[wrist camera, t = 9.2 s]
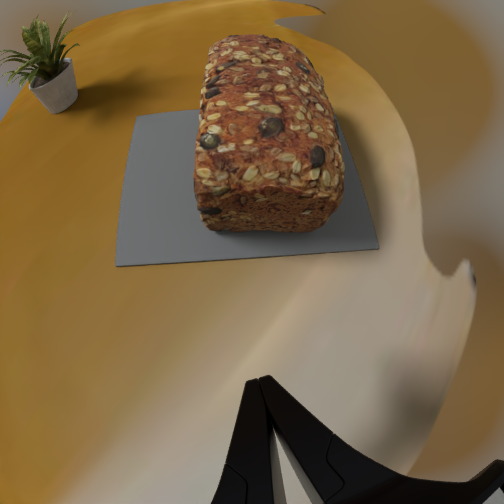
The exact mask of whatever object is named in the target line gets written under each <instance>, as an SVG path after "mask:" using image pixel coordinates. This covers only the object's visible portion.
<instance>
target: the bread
mask: <svg viewBox="0 0 504 504" xmlns="http://www.w3.org/2000/svg"><path fill="white" fill-rule="evenodd" d="M205 70H206V71H205V72H204V79H203V87H202V90H201V101H200V113H199V128H198V133H197V137H196V146H195V170H194V173H193V179H194V193H195V198H196V200H197V210H199V211H200V219H201V222H204V226H205V227H206V228H208V229H209V230H210V231H223V230H229V231H232V232H247V231H251V230H257V231H264V230H273V231H276V232H280V233H282V232H300V233H304V232H311V231H314V230H316V229H317V228H320V227H322V226H323V225H324V224H325V223H326V222H328V220H329V217H330V215H331V214H332V213H334V212H336V210H337V208H338V207H339V206H340V204H341V202H342V198H343V192H344V184H343V183H344V172H345V164H344V162H343V161H342V155H343V149H342V144H341V143H340V141H339V134H338V133H339V130H338V124H337V120H336V119H334V112H333V108H332V106H331V103H330V102H329V100H328V97H327V95H326V94H325V91H324V85H323V84H324V81H323V78H322V76H320V75H319V74H317V72H316V71H315V70H314V67H313V65H312V63H311V62H310V60H309V59H308V58H307V56H306V55H304V53H303V52H302V51H301V50H299V49H298V48H296V46H294V45H292V44H289V43H286V42H284V41H280V40H279V39H278V38H268V37H267V36H264V35H231V36H228V37H226V38H225V39H223V40H220V41H218V42H216V43H215V44H213V45H212V46H211V47H210V49H209V54H208V62H207V64H206V69H205Z"/></svg>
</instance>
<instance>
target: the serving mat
mask: <svg viewBox="0 0 504 504" xmlns="http://www.w3.org/2000/svg"><path fill="white" fill-rule="evenodd" d="M199 113H200V109H198V110H185V111H174V112H165V113H157V114H149V115H142V116H137V118H136V122H135V126H134V130H133V134H132V139H131V144H130V149H129V154H128V159H127V164H126V170H125V176H124V182H123V189H122V196H121V203H120V212H119V221H118V231H117V243H116V259H115V266H116V267H121V266H138V265H154V264H170V263H186V262H202V261H217V260H232V259H247V258H262V257H277V256H291V255H305V254H319V253H333V252H347V251H360V250H373V249H379V246H378V241H377V237H376V233H375V230H374V226H373V222H372V218H371V215H370V211H369V208H368V204H367V201H366V198H365V194H364V191H363V188H362V185H361V182H360V179H359V176H358V173H357V170H356V167H355V164H354V161H353V158H352V156H351V153H350V150H349V148H348V145H347V142H346V140H345V137H344V135H343V132H342V130H341V127H340V125H339V122H338V120H337V117H336V115H335V113H334V119H336V120H337V124H338V130H339V133H338V134H339V141H340V143H341V144H342V149H343V155H342V161H343V162H344V164H345V172H344V183H343V184H344V192H343V198H342V202H341V204H340V206H339V207H338V208H337V210H336V212H334V213H332V214H331V215H330V217H329V220H328V222H326V223H325V224H324V225H323V226H322V227H320V228H317V229H316V230H314V231H311V232H304V233H300V232H282V233H280V232H276V231H273V230H264V231H257V230H251V231H247V232H232V231H229V230H223V231H210V230H209V229H208V228H206V227H205V226H204V222H201V219H200V211H199V210H197V200H196V198H195V193H194V179H193V173H194V170H195V146H196V137H197V133H198V128H199Z"/></svg>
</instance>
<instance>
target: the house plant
mask: <svg viewBox="0 0 504 504" xmlns="http://www.w3.org/2000/svg"><path fill="white" fill-rule="evenodd" d="M37 18H38V16H37ZM37 18H36V22H35V26H34V21H35V20H34V21H33V22H32V23H31V28H30V29H29V28H27V27H22V30H23V32H22V37H23V41H24V43H25V44H26V45H27V47H28V49H27V50H28V51H30V52H31V53H32V54H30V55H29V56H27V55H24V54H22V53H19V52H16V51H12V50H3V51H7V52H13V53H16V54H19V55H12V56H9V57H21V58H26V59H29V61H24V60H22V59H17V58H14V59H9V60H6V61H19V62H22V63H24V64H23V65H21V66H20V67H19V68H18V69H17V70H16V71H10V72H7V73H5V74H8V73H13V74H12V75H11V76H10V78H9V80H8V83H9V81H10V80H11V79H12V78H13V77H14V76H15V75H16V74H24V75H22V76H25V77H23V78H22V79H21V80H20V88H21V86H22V84H23V83H24V81H25V80H26V79H27V78H28V80H29V83H30V84H29V89H30V90H31V91H32V92H33V93H34V94H35V96H36V97H37V98H38V99H39V100H40V102H41V103H42V104H43V105H44V106H45V107H46V108H47V110H48V111H49V112H50V113H51V114H56V113H60V112H62V111H64V110H65V109H67V108H68V107H69V106H71V105H72V104H73V103H74V102H75V100H76V99H77V97H78V91H77V86H76V81H75V75H74V70H73V64H72V59H70V58H64V57H65V55H66V53H67V52H68V51H69V50H70V49H71V48H72V47H74V46H76V45H79V44H78V43H77V44H75V45H73V46H72V47H71V48H70V49H68V50H67V51H66V52H65V54H64V55H63V56H62V58H61V59H60V57H61V54H62V52H63V49H64V47H65V46H66V44H62V45H60V44H61V42H62V40H63V39H64V37H65V36H66V35H67V34H68V33H69V32H71V31H73V30H71V31H69V32H67V33H66V34H64V35H63V36H62V38H61V39H60V41H59V43H58V39H59V36H60V33H61V30H62V28H63V26H64V23H65V21H66V20H65V21H64V19H65V18H64V19H63V21H64V23H63V22H62V24H61V26H60V28H59V31H58V33H57V35H56V37H55V40H54V45H53V49H52V53H51V45H50V37H49V28H48V25H47V23H46V22H45V21H44V22H43V25H44V28H43V26H42V24H41V22H40V21H38V20H37ZM37 21H38V24H39V31H40V35H41V42H42V45H41V42H40V38H39V33H38V25H37ZM57 43H58V45H57ZM59 46H60V47H59ZM0 52H2V51H0ZM54 54H55V58H54ZM9 57H7V58H9ZM59 59H60V60H59ZM0 61H1V60H0ZM6 61H5V62H6ZM54 61H55V62H54ZM35 63H36V64H37V65H38V66H39V67H37V66H35V65H33V64H35ZM28 66H32V67H34V68H36V69H32V68H31V69H30V68H26V67H28ZM22 70H33V71H31V73H26V72H20V71H22ZM16 79H17V78H16ZM16 79H15V80H16ZM15 80H14V81H15ZM8 83H7V84H8Z"/></svg>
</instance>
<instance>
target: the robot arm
mask: <svg viewBox="0 0 504 504" xmlns="http://www.w3.org/2000/svg"><path fill="white" fill-rule="evenodd" d="M273 428H274V429H273ZM274 431H275V432H274ZM275 433H276V435H277V438H278V440H279V442H280V444H281V446H282V448H283V450H284V452H285V454H286V456H287V458H288V460H289V462H290V463H291V465H292V467H293V469H294V471H295V473H296V475H297V477H298V479H299V481H300V483H301V484H302V486H303V488H304V490H305V492H306V494H307V495H308V497H309V499H310V501H311V503H312V504H504V461H503V460H498V459H497V460H495V461H493V462H492V463H490V464H489V465H488V466H487V467H486V468H484V469H483V470H482V471H481V472H479V473H478V474H477V475H476V476H474V477H473V478H472V479H470V480H469V481H467V482H444V481H433V480H425V479H417V478H412V477H408V476H405V475H402V474H399V473H397V472H395V471H393V470H391V469H389V468H387V467H385V466H383V465H381V464H379V463H378V462H376V461H374V460H372V459H370V458H368V457H367V456H365V455H363V454H362V453H360V452H359V451H357V450H355V449H354V448H352V447H351V446H350V445H348V444H347V443H346V442H344V441H343V440H342V439H341V438H340V437H338V436H337V435H336V434H333V432H332V431H331V430H330V429H329V428H328V427H326V426H325V425H324V424H323V423H322V422H321V421H319V420H318V419H317V418H316V417H315V416H314V415H313V414H312V413H310V412H309V411H308V410H307V409H306V408H305V407H304V406H303V405H302V404H300V403H299V402H298V401H297V400H296V399H295V398H294V397H293V396H292V395H291V394H290V393H289V392H288V391H286V390H285V389H284V388H283V387H282V386H281V385H280V384H279V383H278V382H277V381H276V380H275V379H274V378H273V377H272V376H271V375H266V376H263V377H260V378H259V380H258V379H257V378H255V379H252V380H248V381H246V383H245V387H244V391H243V395H242V399H241V403H240V407H239V411H238V415H237V419H236V423H235V427H234V431H233V435H232V439H231V443H230V446H229V450H228V454H227V458H226V461H225V463H226V464H225V465H224V468H223V472H222V476H221V479H220V482H219V485H218V488H217V490H216V493H215V495H214V497H213V500H212V502H211V504H287V503H286V497H285V491H284V485H283V479H282V473H281V467H280V461H279V455H278V449H277V443H276V437H275Z"/></svg>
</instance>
